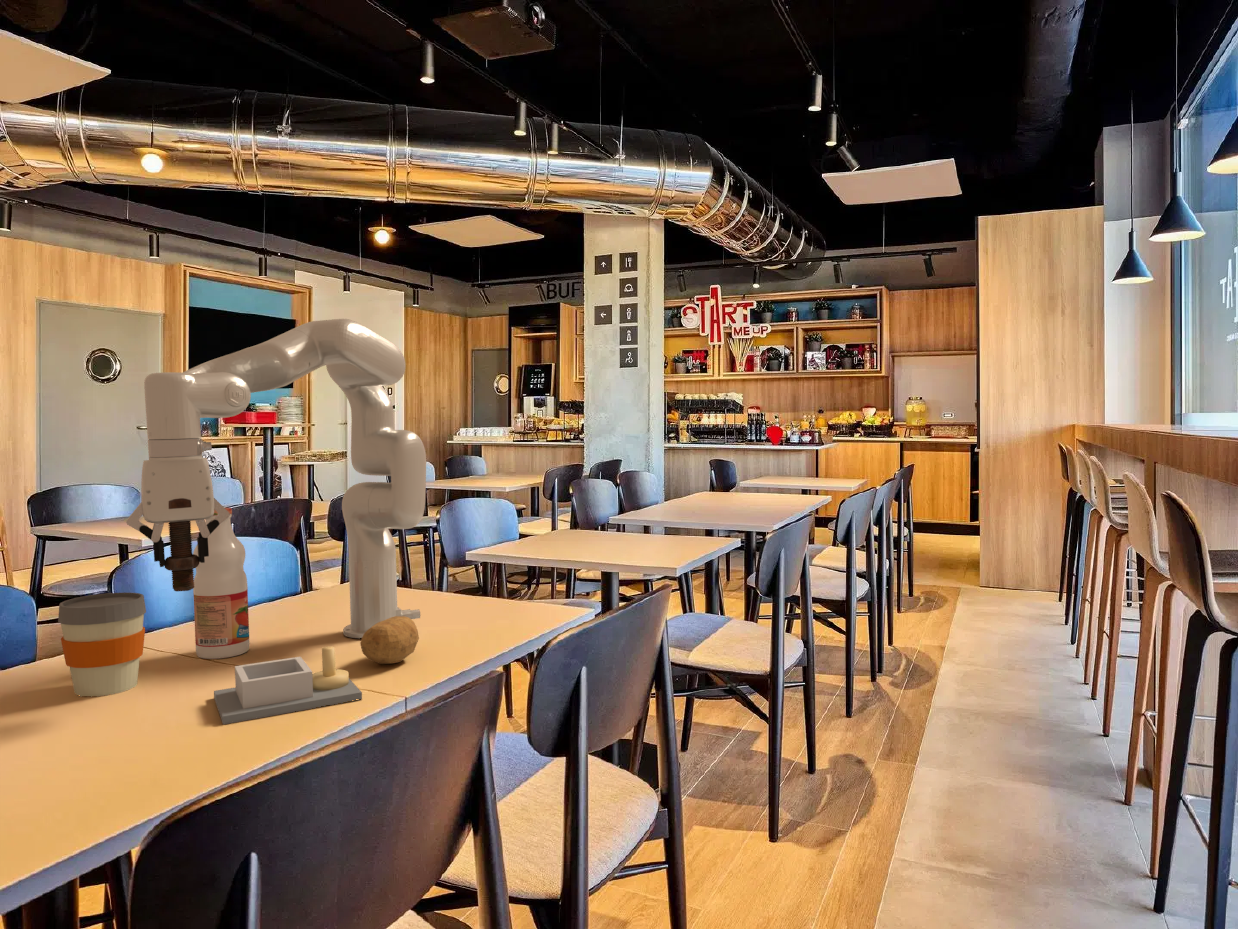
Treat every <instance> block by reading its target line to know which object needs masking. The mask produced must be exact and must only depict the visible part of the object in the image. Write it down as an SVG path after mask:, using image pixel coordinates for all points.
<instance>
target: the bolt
mask: <svg viewBox="0 0 1238 929" xmlns="http://www.w3.org/2000/svg"><path fill="white" fill-rule="evenodd" d="M189 507H192V506H191V500H189V499H185V498H180V499H173V500H170V501H169V509H177V508H189ZM191 523H192V522H191V521H178V522H168V523H167V524H168V535H169V536H168V537H169V550H170V551H169V552H170V555H169V556H167V557H165V566H164V569H166V571H171V582H172V583H171V584H172V585H171V586H172V589H173V591H174V592H189V591H191V590H193V588H194V587H195V586H194V585H195V584H194V578H195V576H194V573H195V572H194V569H196V567H197V566H198V565H199V557H198V556H197V555H195V554H193V541H192V540H193V537H192V526H191V525H192V524H191Z"/></svg>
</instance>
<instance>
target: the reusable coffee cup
mask: <svg viewBox="0 0 1238 929" xmlns="http://www.w3.org/2000/svg"><path fill="white" fill-rule="evenodd" d="M146 613H147V608H146V601H145V596H144V594H142V593H139V592H110V593H109V592H108V593H98V594H91V595H84V596H80V597H79V596H78V597H74V598H71V599H67V600H64V601H62V602H60V603H59V605H58V617H57V618H58V619H57V622H58V624H60V627H61V631H62V635H63V636H61V638H60V643H61V647H62V652H63V653H62V654H63V656H64V660H65V661H64V662H65V666H67V667H68V668H69V672H70V676H71V681H72V687H73V690H74V694H75V693H76V694H77V695H80V696H79V697H82V696H91V697H90V698H93V697H92V696H97V697H105V696H110V695H109V694H111V695H116V694H119V693H123V692H126V690H127V691H129V690H132V689H133V687H134V688H135V687H136V686H137V685H138V677H139V669H140V668H139V667H140V658H141V657H142V656H143V653H144V645H145V636H146V635H145V634H146V628H145V626H144V616H145V614H146ZM131 688H132V689H131ZM115 693H116V694H115ZM76 694H75V695H76ZM77 695H76V696H77ZM104 695H105V696H104Z"/></svg>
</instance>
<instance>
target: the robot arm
mask: <svg viewBox="0 0 1238 929" xmlns="http://www.w3.org/2000/svg"><path fill="white" fill-rule="evenodd" d="M324 366H326V370H327V373H328V375H329V376H330V378H331V379H332V380H333V382H334V384H336V385H337V386H338V388H340V389H341V391H342V392H343V394H344V395H345V397H346V398H347V400H348V403H349V406H350V416H351V423H350V424H351V426H350V427H351V431H350V432H351V433H350V435H351V436H350V438H351V439H350V459H351V465H352V467H353V469H354V470H355V472H357V473H359V474H361V475H365V476H374V477H375V476H376V477H377V476H380V477H381V476H385V477H386V476H387V477H390V480H391V481H390V482H386V481H385V482H383V481H363V482H358V483H356V484H354V485H351V487H349V488H347V490H346V491H345V493H344V494H343V497H342V500H341V510H342V517H343V519H344V524H345V525H344V526H345V529H346V534H347V535H346V536H347V543H348V544H347V545H348V546H347V547H348V576H349V579H348V582H349V606H350V607H349V608H350V611H349V612H350V614H349V615H350V624H347V625H345V626H344V627H343V631H342V633H343V635H344V636H345V637H347V638H352V639H360V638H362V637H363V635H364V633H365V632H366V631H367V630H368V629H369V628H371V627H372V626H374V625H375V624H377V623H378V622H381V621H383V620H386V619H389V618H391V617H395V616H405V617H409V618H410V619H411V620H415V619H416V620H417V619H421V611H420V609H410V608H409V609H401V608H400V607H399V606H398V586H397V585H398V584H397V583H398V582H397V550H396V549H397V547H396V542H395V539H394V537H393V535H392V533H391V532H390V530H391V529H392V530H393V529H394V530H409V529H412V528H414V527H416V526H418V524H420V523H421V520H422V519H423V516H424V513H425V507H426V494H427V493H426V486H427V452H426V448H425V445H424V442H423V440H422V439H421V438H420V436H419V435H418V434H416V433H415V432H414V431H411V430H408V429H395V426H394V425H395V424H394V422H395V421H394V407H393V405H394V404H393V403H392V400H391V398H390V396H389V393H387V390H385V388H384V387H385V386H392V385H394V384H395V385H396V383H398V382H399V381H400V380H402V378H403V377H404V375H405V371H406V360H405V357H404V354H403V353H402V351H401V349H400V348H399V347H398V346H397V345H396V344H395V343H393V342H392V341H390V340H389V339H387V338H386V337H383V336H382V335H380V333H379V334H378V333H377V332H375V331H374V330H372V329H370V328H368V327H367V326H365V325H363V324H361V323H359V322H357V321H354V320H351V319H348V318H335V319H320V320H313V321H308V322H306V323H301V325H298V326H296V327H294V328H291V329H290V330H288V331H285V332H284V333H281V334H278V335H277V336H274V337H272V338H270V339H268V340H266V341H263V342H261V343H258V344H256V345H253V346H250V347H249V346H248V347H246V348H243V349H241V350H237V351H234V352H231V353H229V354H225V355H223V356H220V357H217V358H214V359H211V360H208V361H206V362H203V363H200V364H197V365H196V366H193V367H191V368H189V369H187V370H185V371H183V372H179V371H178V372H175V371H174V372H168V371H167V372H166V371H165V372H154V373H150V374H147V375H146V376H145V379H144V385H143V386H144V401H145V416H146V417H145V418H146V433H147V450H148V459H146V460H143V461H142V467H141V468H142V470H141V488H140V489H141V494H140V496H141V502H140V503H139V504H138V505H137V507H136V508H135V509H134V510H133V512H132V513H131V514H130V515H129V517H128V518H127V519H126V522H125V523H126V524H127V525H128V526H129V527H131V528H132V529H134V530H136V531H138V532H140V533H141V534H142V535H144V536H145V537H146V538H148V539H149V540H150V541H152V545H153V558H154V559H153V560H154V562H156V563H157V562H158V563H159V568H165V559H166V556H165V543H164V540H163V537H162V534H163V533H162V532H163V528H164V525H165V524H166V523H167V524H168V523H169V522H178V521H195V524H196V525H197V528H198V530H199V532H198V537H197V538H196V540H197V544H196V546H197V545H198V557H199V562H201V563H205V558H204V557H207V556H209V550H208V537H209V535H210V534H211V533H212V532H213V531H214V530H215V529H216V528H217V527H218V526H219V525H220V524H221V523H222V522H223V521H225V520H226V519H227V518H228V517H229V516H230V513H229V512H228V511H227V510H226V509H225V508H226V507H225V506H223V505H222V504H221V503H220V502H219V501H218V500H217V499H216V498H215V496H214V489H213V483H212V482H213V481H212V480H213V479H212V476H211V470H210V466H209V465H210V464H209V461H208V458H207V457H203V453H205V452H207V451H212V442H211V441H204V440H202V433H201V432H202V430H201V419H205V418H209V419H225V418H230V417H231V418H232V417H235V416H237V415H238V416H239V414H241V413H242V412H244V411H245V410H246V409H247V407H248V406H249V404H250V402H251V399H252V398H251V395H252V393H259V392H267V391H272V390H275V389H279V388H283V387H287V386H288V385H290V384H292V383H293V382H295V381H298V380H299V379H301V378H303V377H305V376H307V375H308V374H310V373H312V372H314V371H316V370H318V369H320V368H322V367H324ZM180 498H185V499H189V500H191V506H192V507H189V508H177V509H169V501H170V500H173V499H180ZM214 509H215V510H216V511H217V512H218V515H217V516H216V517H215V518H214V519H212V520H211V521H210V522H209V523H208V524H207V525H206V519H208V518H210V517H212V516H213V514H214ZM142 517H143V518H144V521H146V522H148V523H150V524H151V523H152V524H153V526H152V527H149V526H148V525H146V524H144V523H142V521H140V518H142ZM389 529H390V530H389Z"/></svg>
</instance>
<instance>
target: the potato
mask: <svg viewBox="0 0 1238 929" xmlns="http://www.w3.org/2000/svg"><path fill="white" fill-rule="evenodd" d="M419 639H420V637H419V631H418V628H417V625H416V623H415V622H414V620H413V619H410V618H409V617H405V616H395V617H391V618H389V619H386V620H383V621H381V622H378V623H377V624H375V625H374V626H372V627H371V628H369V629H368V630H367V631H366V632H365V633H364V635H363V637H362V639H361V640H360V643H359V644H360V648H361V652H362V654H363V655H364V656H365V658H367V659H368V660H369V661H372V662H375V663H377V664H379V665H384V664H385V665H386V664H387V665H388V664H389V665H390V664H398V663H400V662H402V661H403V660H406V658H407V657H409V656H410V655H411V654H413V653H414V652H415V650H416V647H417V644H418V642H419V641H420V640H419Z"/></svg>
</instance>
